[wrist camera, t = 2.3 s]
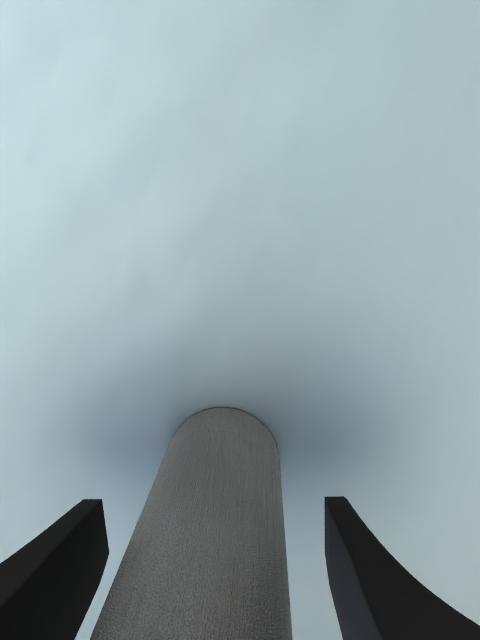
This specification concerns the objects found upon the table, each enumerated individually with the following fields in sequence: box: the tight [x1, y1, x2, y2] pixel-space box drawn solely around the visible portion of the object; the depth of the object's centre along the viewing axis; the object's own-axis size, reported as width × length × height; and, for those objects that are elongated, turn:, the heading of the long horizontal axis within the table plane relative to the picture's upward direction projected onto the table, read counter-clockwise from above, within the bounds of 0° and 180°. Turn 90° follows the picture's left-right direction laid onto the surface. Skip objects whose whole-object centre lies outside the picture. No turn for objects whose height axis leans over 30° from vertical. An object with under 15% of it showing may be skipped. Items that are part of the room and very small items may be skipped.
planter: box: [90, 408, 292, 640], centre depth 13 cm, size 4×4×10 cm
